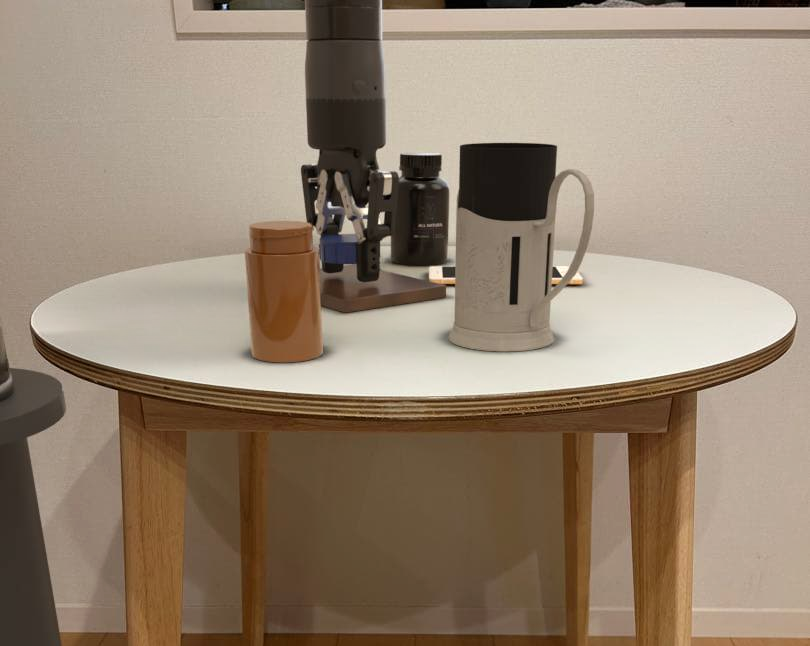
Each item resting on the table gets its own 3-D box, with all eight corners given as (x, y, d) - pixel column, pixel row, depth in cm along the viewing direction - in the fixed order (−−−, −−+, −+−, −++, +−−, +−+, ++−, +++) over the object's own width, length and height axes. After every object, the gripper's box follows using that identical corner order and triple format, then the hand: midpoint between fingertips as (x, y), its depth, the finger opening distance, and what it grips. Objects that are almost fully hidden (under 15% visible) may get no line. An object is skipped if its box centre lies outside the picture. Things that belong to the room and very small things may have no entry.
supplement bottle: (429, 268, 116) (430, 156, 111) (379, 263, 119) (378, 154, 114) (458, 259, 121) (460, 152, 116) (410, 255, 124) (410, 150, 119)
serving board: (345, 313, 93) (344, 299, 93) (261, 287, 105) (260, 275, 105) (446, 297, 100) (446, 285, 99) (356, 274, 112) (356, 263, 111)
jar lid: (369, 253, 105) (368, 232, 104) (387, 262, 100) (387, 239, 99) (313, 257, 103) (312, 235, 102) (329, 266, 98) (329, 243, 97)
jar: (274, 366, 76) (266, 232, 72) (239, 352, 80) (229, 223, 76) (336, 355, 79) (332, 225, 75) (299, 341, 83) (293, 218, 79)
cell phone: (583, 284, 105) (583, 278, 105) (428, 284, 105) (428, 278, 105) (573, 271, 112) (573, 266, 112) (428, 271, 112) (428, 265, 112)
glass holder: (510, 322, 90) (517, 140, 83) (622, 356, 79) (640, 150, 72) (428, 334, 85) (429, 144, 79) (535, 372, 74) (546, 155, 68)
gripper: (423, 95, 92) (422, 283, 99) (337, 93, 102) (342, 263, 109) (355, 95, 88) (359, 291, 95) (272, 94, 98) (281, 270, 105)
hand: (350, 275), depth 102 cm, fingers closed on jar lid, 6 cm apart
